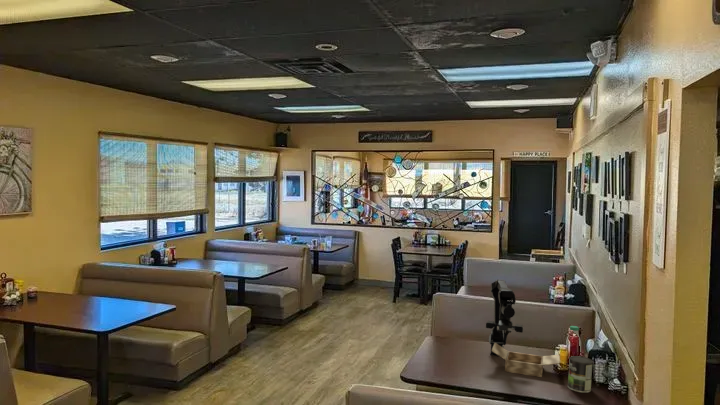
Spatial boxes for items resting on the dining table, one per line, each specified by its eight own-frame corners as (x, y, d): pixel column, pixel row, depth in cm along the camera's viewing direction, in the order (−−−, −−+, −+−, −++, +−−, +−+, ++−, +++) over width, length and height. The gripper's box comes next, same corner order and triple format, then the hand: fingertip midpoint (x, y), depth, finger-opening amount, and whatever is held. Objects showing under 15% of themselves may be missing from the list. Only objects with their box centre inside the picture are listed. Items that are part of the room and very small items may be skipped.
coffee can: (574, 392, 247) (575, 362, 247) (563, 384, 257) (565, 355, 257) (595, 393, 248) (597, 363, 248) (584, 384, 258) (585, 355, 258)
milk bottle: (579, 361, 293) (581, 325, 293) (580, 366, 286) (582, 329, 285) (564, 359, 296) (566, 324, 295) (565, 363, 288) (567, 327, 288)
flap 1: (494, 342, 289) (494, 343, 289) (491, 350, 275) (491, 350, 275) (508, 351, 287) (507, 351, 287) (505, 359, 273) (505, 359, 273)
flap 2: (559, 363, 264) (559, 363, 264) (559, 354, 278) (559, 355, 278) (542, 364, 266) (542, 365, 266) (543, 356, 280) (543, 356, 280)
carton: (504, 371, 272) (505, 359, 272) (507, 362, 287) (508, 351, 287) (541, 377, 266) (542, 365, 266) (542, 367, 281) (543, 356, 281)
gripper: (485, 314, 275) (483, 344, 276) (522, 318, 269) (521, 349, 269) (487, 310, 286) (486, 338, 286) (524, 314, 279) (522, 343, 280)
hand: (503, 342), depth 280 cm, fingers closed
